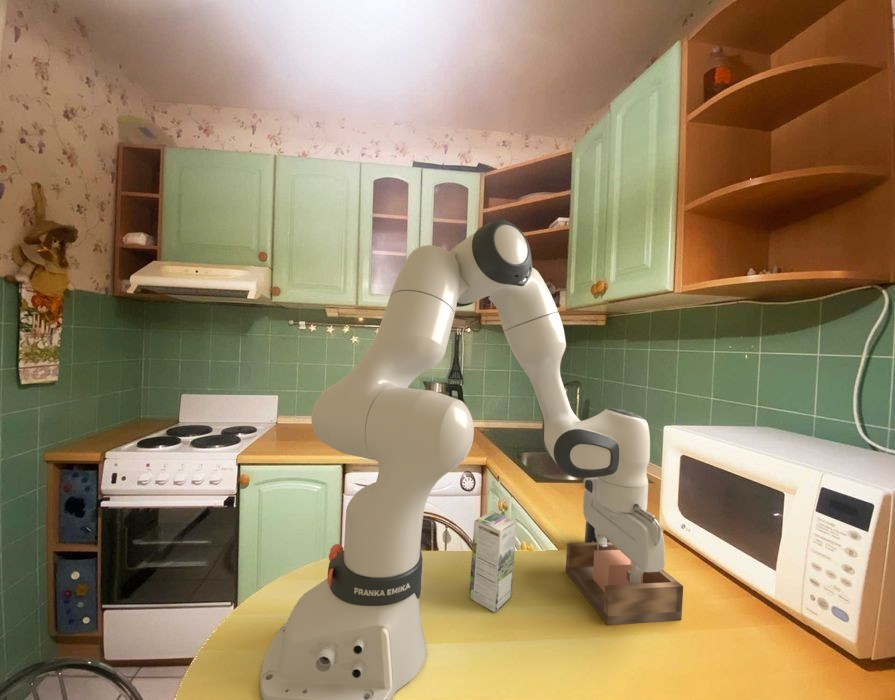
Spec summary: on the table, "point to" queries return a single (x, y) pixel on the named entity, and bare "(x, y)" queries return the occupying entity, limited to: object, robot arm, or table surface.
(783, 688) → the table surface
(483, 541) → the syrup box
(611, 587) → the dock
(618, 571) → the pink rectangular block
